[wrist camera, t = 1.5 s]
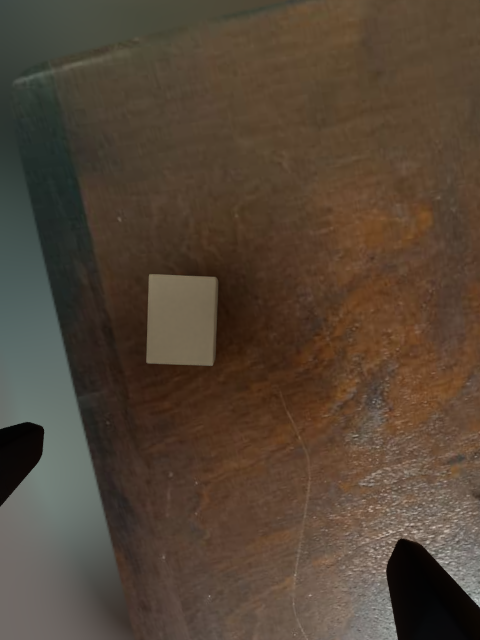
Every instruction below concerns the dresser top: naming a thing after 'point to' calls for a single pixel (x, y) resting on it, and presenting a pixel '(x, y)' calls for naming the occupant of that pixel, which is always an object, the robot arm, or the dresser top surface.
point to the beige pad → (182, 319)
